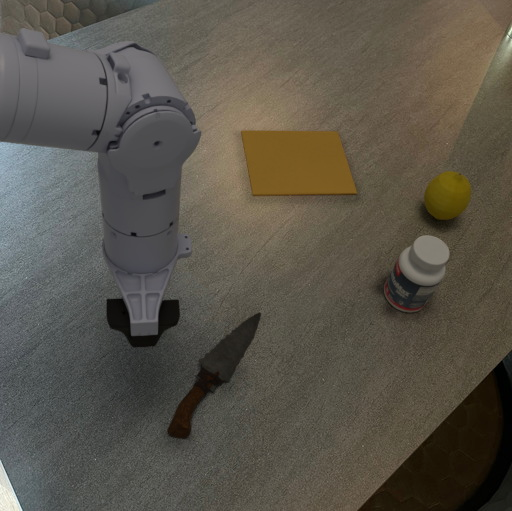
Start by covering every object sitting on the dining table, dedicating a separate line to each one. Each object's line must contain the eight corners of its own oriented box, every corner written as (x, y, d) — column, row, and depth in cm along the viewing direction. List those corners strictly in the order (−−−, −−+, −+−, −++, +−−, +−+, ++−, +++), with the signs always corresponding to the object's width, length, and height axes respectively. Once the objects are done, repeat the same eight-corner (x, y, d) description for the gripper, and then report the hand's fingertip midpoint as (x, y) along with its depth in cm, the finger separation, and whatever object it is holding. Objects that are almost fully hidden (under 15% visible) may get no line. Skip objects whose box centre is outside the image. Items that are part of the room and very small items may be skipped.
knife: (184, 440, 58) (149, 398, 58) (177, 445, 59) (143, 405, 60) (292, 339, 68) (262, 304, 68) (283, 346, 69) (254, 312, 70)
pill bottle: (375, 281, 74) (398, 234, 67) (412, 272, 76) (439, 225, 69) (396, 318, 72) (423, 273, 65) (434, 308, 73) (464, 262, 66)
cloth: (252, 195, 80) (253, 194, 80) (241, 131, 87) (241, 130, 87) (356, 194, 83) (357, 193, 83) (337, 132, 90) (337, 131, 90)
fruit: (431, 194, 85) (454, 150, 78) (464, 219, 83) (490, 176, 76) (407, 213, 82) (428, 169, 76) (441, 239, 80) (466, 196, 74)
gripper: (203, 286, 43) (192, 376, 54) (187, 140, 51) (181, 242, 62) (97, 290, 42) (107, 381, 52) (99, 139, 50) (108, 244, 61)
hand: (142, 306), depth 57 cm, fingers open, 7 cm apart
